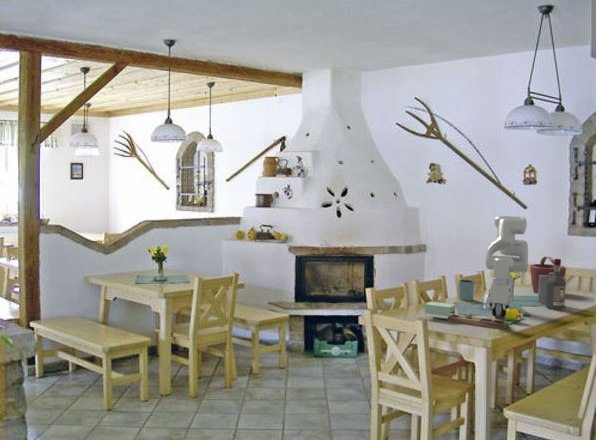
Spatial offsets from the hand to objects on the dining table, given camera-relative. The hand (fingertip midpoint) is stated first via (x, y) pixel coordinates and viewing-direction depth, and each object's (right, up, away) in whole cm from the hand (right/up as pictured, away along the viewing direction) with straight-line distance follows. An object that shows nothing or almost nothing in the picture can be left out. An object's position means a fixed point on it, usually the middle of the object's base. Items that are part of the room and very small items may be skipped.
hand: (498, 316), depth 357 cm
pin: (0, -1, 0) cm, 1 cm away
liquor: (+49, -3, +53) cm, 73 cm away
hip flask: (+51, -2, +66) cm, 84 cm away
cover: (-27, -1, +17) cm, 32 cm away
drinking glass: (+2, 0, +76) cm, 76 cm away
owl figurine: (+10, -5, +15) cm, 19 cm away
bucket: (+64, 0, +108) cm, 125 cm away
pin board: (-10, -5, +6) cm, 12 cm away
